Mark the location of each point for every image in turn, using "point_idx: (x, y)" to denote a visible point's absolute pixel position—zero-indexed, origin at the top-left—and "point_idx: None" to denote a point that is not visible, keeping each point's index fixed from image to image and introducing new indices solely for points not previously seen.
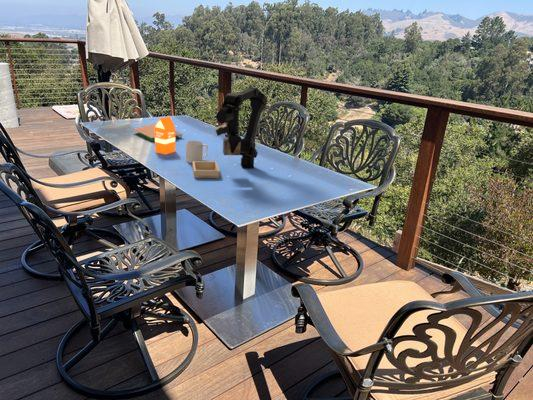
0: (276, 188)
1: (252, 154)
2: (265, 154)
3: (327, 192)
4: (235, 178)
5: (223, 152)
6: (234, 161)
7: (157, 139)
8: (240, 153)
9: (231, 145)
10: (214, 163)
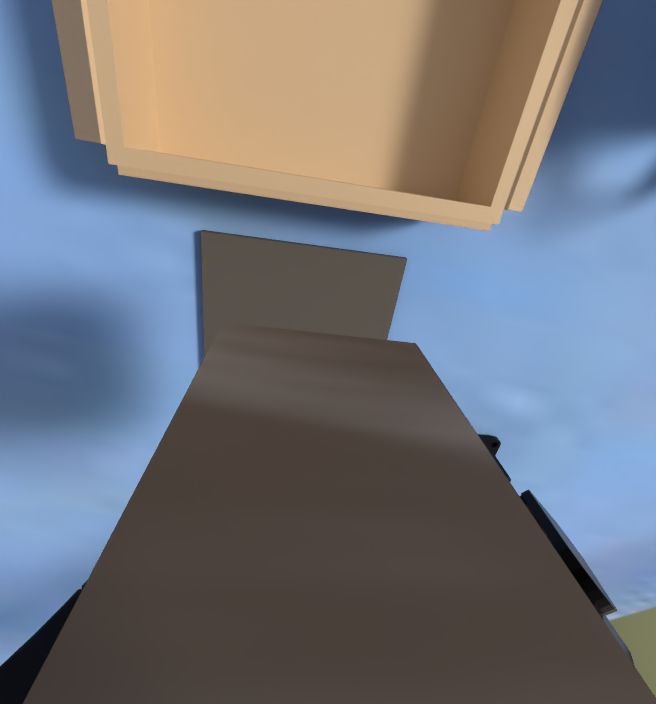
0: (22, 518)
1: None
2: (604, 575)
3: None
4: (200, 331)
5: (327, 344)
6: (582, 413)
7: None
8: (530, 507)
9: (32, 668)
10: (481, 201)
